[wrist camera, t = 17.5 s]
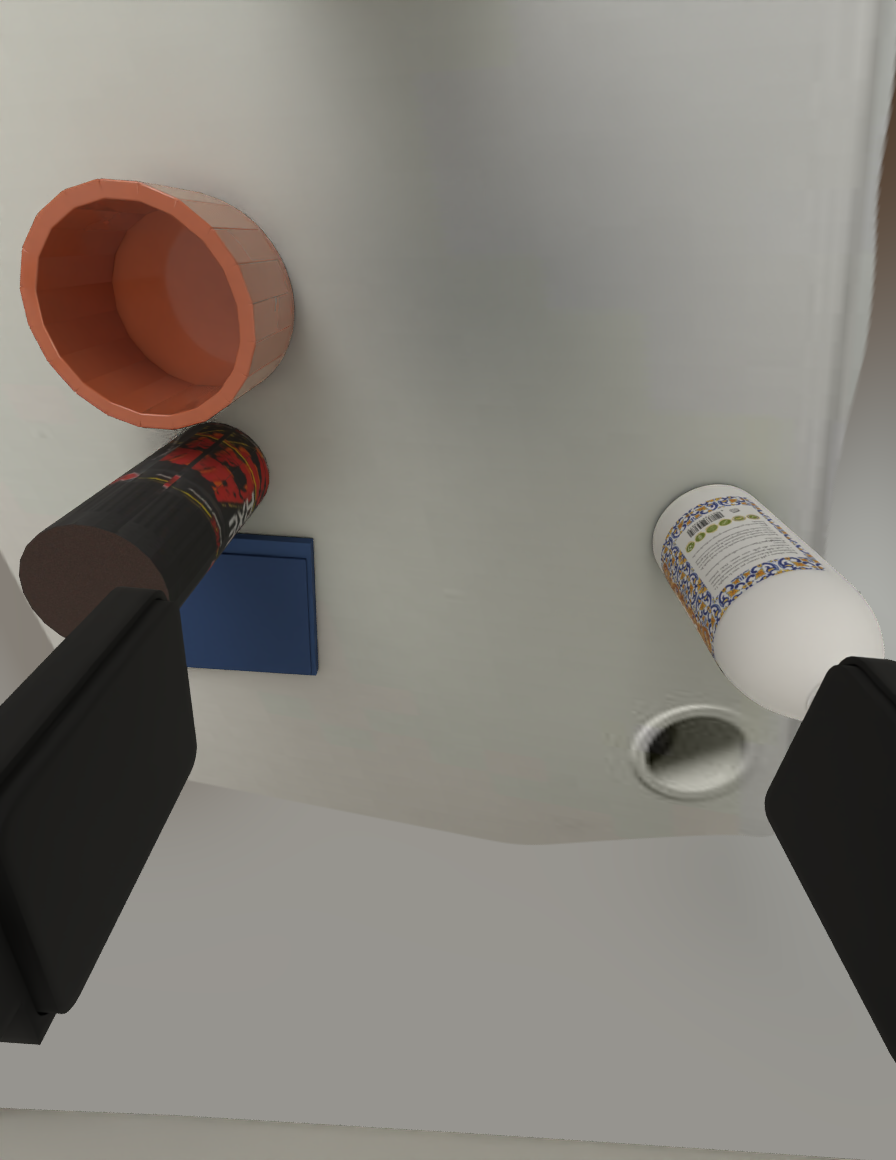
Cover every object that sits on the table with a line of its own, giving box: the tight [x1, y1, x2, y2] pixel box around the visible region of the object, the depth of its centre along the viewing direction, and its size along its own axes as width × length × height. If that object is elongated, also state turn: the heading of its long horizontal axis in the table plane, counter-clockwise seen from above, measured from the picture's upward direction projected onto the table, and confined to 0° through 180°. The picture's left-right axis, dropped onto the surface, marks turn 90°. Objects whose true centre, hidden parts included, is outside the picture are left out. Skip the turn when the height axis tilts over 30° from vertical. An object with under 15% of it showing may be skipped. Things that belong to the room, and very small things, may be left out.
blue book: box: [179, 533, 318, 675], centre depth 42 cm, size 10×11×1 cm
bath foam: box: [653, 484, 885, 721], centre depth 31 cm, size 7×7×20 cm
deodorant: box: [19, 423, 269, 638], centre depth 32 cm, size 6×6×15 cm
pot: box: [20, 178, 294, 430], centre depth 31 cm, size 10×10×8 cm
